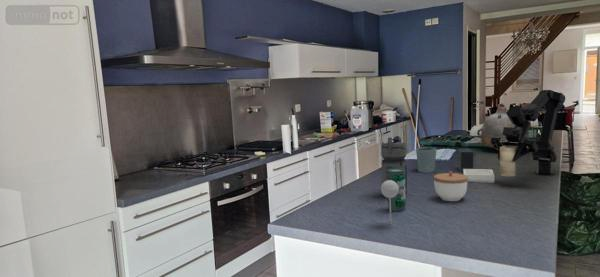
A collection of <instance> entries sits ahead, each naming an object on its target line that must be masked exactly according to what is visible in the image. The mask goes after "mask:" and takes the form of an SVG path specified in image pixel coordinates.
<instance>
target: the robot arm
mask: <svg viewBox="0 0 600 277" xmlns="http://www.w3.org/2000/svg"><path fill="white" fill-rule="evenodd" d="M565 102H566V96H565V95H564V94H563V93H562V92H558V91H554V90H552V89H541V90H540V91H539V92H538V94H537V95H536V97H534V99H532V101H530V103H529V104H526V105H523V106H522V107H521V105H519V104H517V105H516V104H515V105H514V106H513V107H510V108H509V109H508V110H506V112H507V116H508V118H509V119H510V121H511V123H512V124H514V125H515V126H514V128H511V127H504V129H503V133H502V135H505V136H506V137H505V138H506V139H507V141H503V140H502V139H501V138H499V137H492V138H491V140H490V143H491V144H492V146H493V147H494V148H495V150H496V149H498V150H497V160H498V161H500V147H502V146H512V147H516V148H517V149H516V153H515V155H514V157H513V162H515V163H516V161H518V160H519V159H520V158H522V157H523V156H526V155H527V154H529V155H530V154H531V153H532V161H537V170H535V172H536V174H537V175H548V176H550V175H554V172H553V171H552V168H553V166H552V165H553V164H552V163H556V162H557V160H558V155H557V154H556V152H555V146H554V144H553V141H552V138H553V134H554V130H555V125H556V120H557V115H558V112H559V111H560V110H561V109H562V108H563V106H564V103H565ZM543 107H544V109H545V112H544V118H543V121H542V127H541V132H540V136H539V139H538V140H534V139H527V134H528V132H529V131H531V130H532V126H531V122H536V121H537V119H538V118H539V116H540V113H539V112H540V110H541V109H542V108H543ZM494 148H493V149H494Z"/></svg>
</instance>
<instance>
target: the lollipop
mask: <svg viewBox="0 0 600 277" xmlns="http://www.w3.org/2000/svg"><path fill="white" fill-rule="evenodd" d="M380 192H381V194H382V196H384V197H385V198H387V199H388V198H389V205H390V210H389V225H392V211H391V198H393V197H395V196H396V195H397V194H398V192H399V187H398V185H397V183H396V182H394V181H392V180H388V181H385V182H384V183H383V184H382V183H381V186H380Z"/></svg>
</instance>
